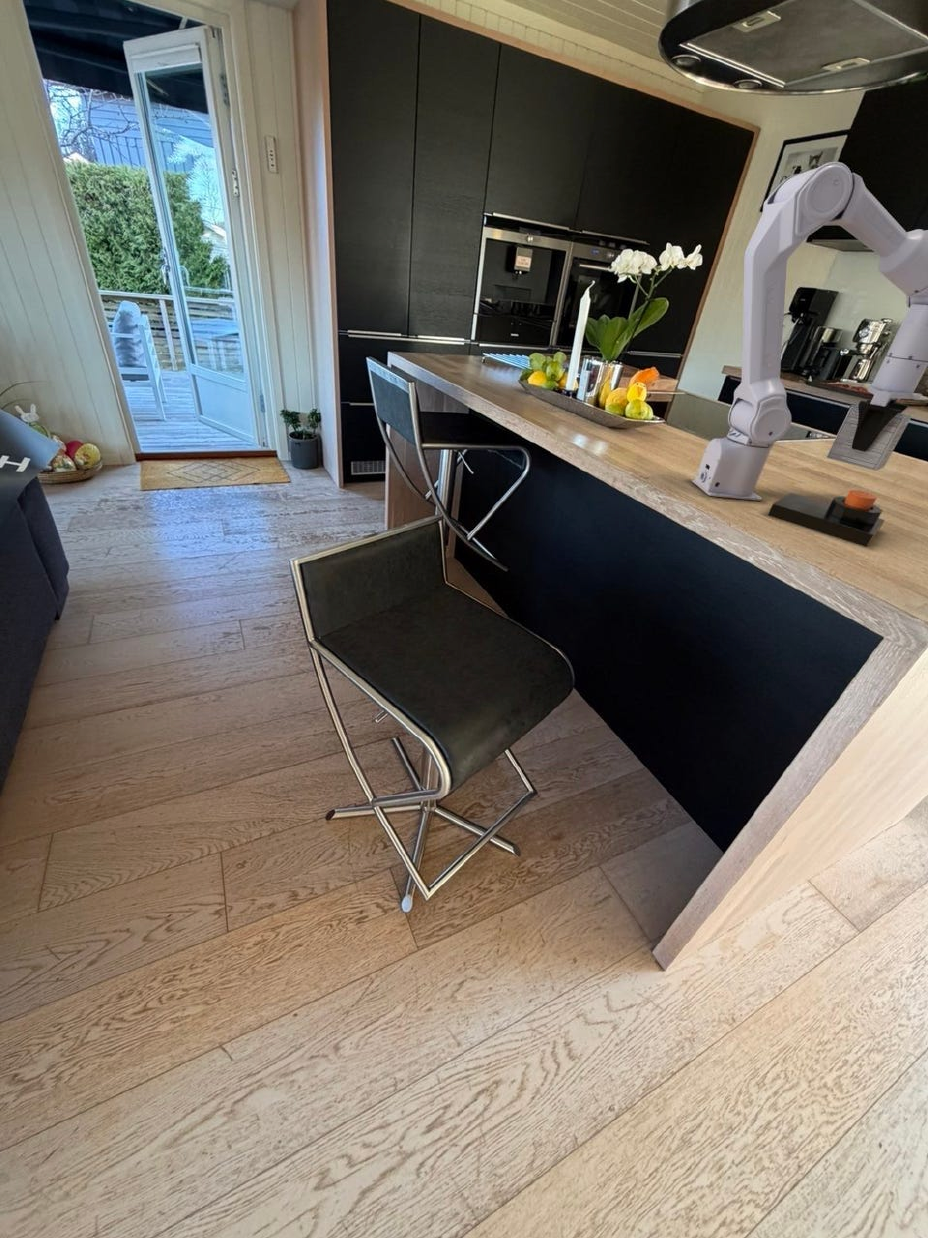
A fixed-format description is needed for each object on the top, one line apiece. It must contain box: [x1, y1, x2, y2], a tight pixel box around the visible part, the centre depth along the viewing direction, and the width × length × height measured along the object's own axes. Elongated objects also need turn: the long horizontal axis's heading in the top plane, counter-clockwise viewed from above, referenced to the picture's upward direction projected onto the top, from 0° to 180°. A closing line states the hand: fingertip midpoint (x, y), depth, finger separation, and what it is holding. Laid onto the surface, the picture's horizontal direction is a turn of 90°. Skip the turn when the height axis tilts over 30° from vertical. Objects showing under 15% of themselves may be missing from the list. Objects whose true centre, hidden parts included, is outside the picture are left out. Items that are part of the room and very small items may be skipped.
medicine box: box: [826, 404, 912, 472], centre depth 87 cm, size 8×4×9 cm, turn 40°
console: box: [767, 492, 885, 548], centre depth 82 cm, size 10×14×4 cm
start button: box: [844, 489, 877, 510], centre depth 80 cm, size 4×4×2 cm
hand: (861, 447), depth 88 cm, fingers closed on medicine box, 5 cm apart
